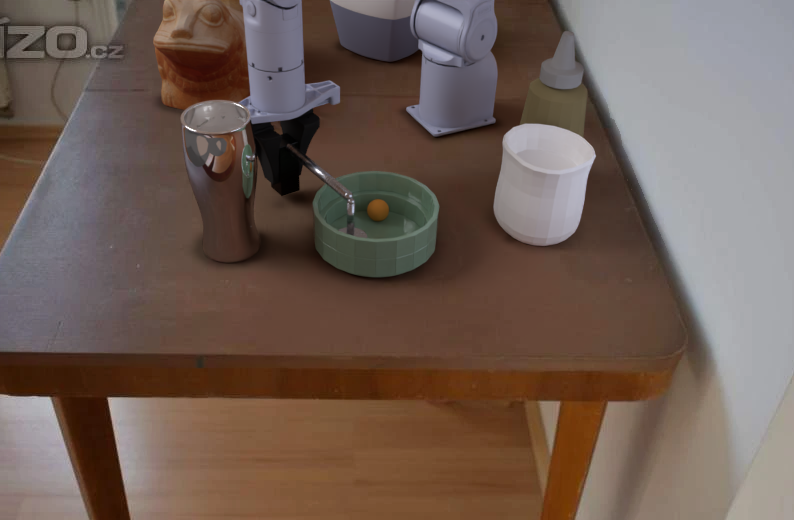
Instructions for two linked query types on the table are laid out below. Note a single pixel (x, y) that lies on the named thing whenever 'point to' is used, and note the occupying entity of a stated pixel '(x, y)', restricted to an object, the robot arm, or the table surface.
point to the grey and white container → (375, 27)
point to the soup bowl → (377, 224)
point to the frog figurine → (202, 52)
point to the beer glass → (223, 176)
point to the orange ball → (378, 210)
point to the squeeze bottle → (558, 91)
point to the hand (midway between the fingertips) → (283, 176)
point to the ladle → (290, 173)
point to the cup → (542, 183)
